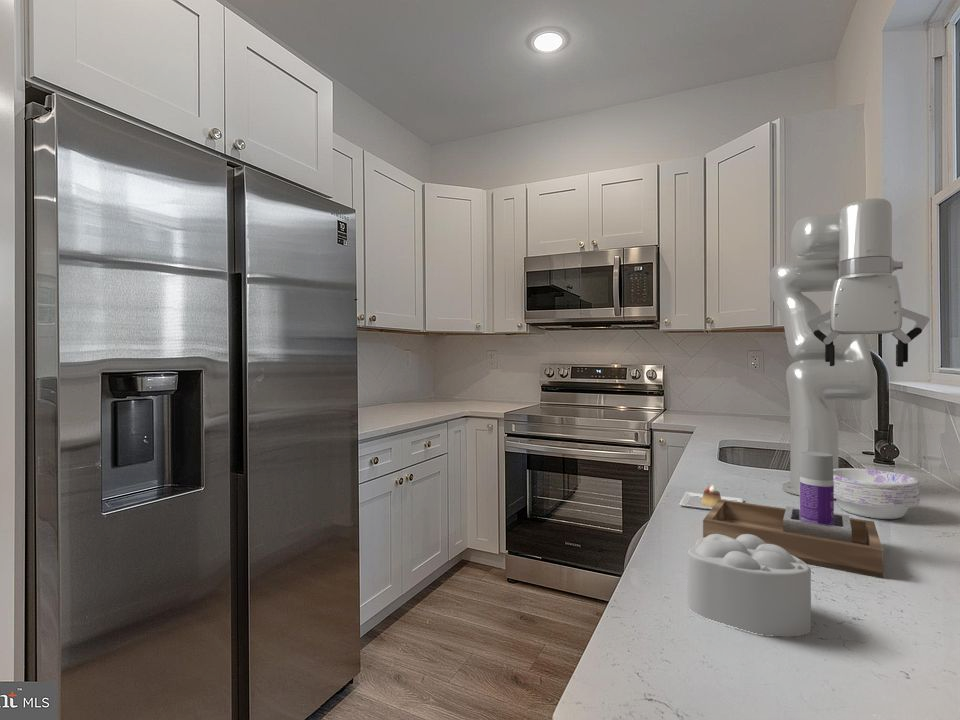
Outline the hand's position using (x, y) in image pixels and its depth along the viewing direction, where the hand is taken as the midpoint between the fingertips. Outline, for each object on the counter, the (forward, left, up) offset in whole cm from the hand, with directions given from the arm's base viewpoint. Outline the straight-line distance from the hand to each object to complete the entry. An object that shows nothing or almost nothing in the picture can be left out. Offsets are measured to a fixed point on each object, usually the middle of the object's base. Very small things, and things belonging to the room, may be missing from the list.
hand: (864, 366), depth 90 cm
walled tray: (+13, -11, -30) cm, 35 cm away
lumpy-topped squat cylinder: (+43, -14, -31) cm, 55 cm away
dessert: (-6, -26, -31) cm, 41 cm away
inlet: (+13, -7, -30) cm, 34 cm away
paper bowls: (-18, +2, -31) cm, 36 cm away
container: (+13, -7, -30) cm, 33 cm away
